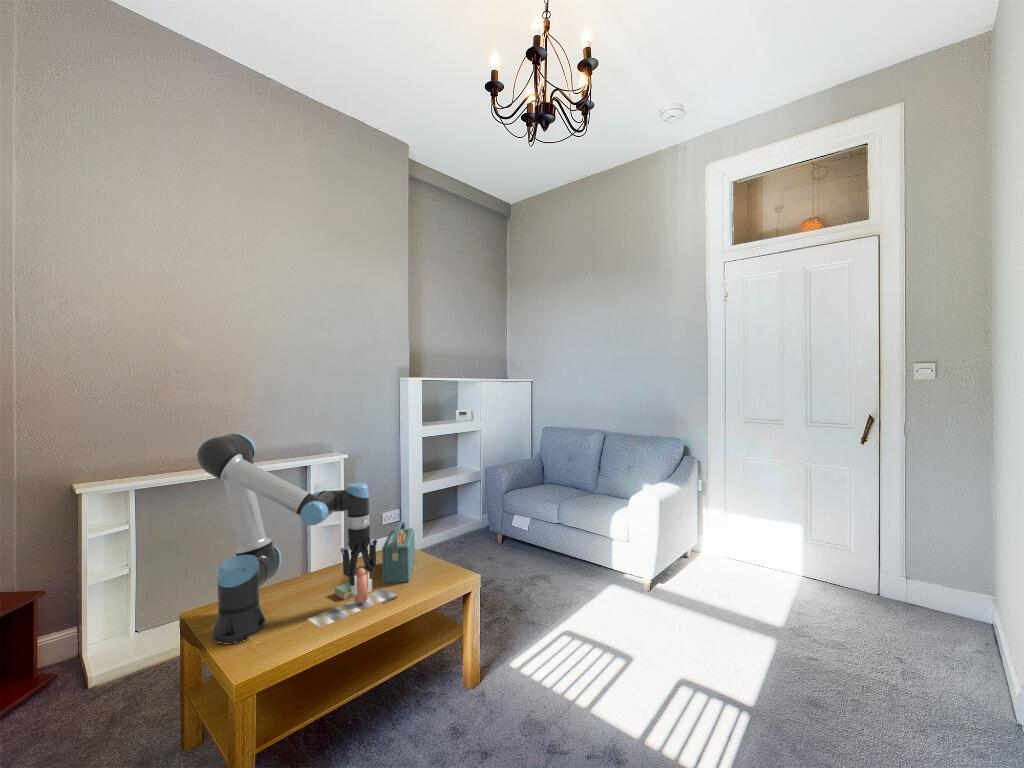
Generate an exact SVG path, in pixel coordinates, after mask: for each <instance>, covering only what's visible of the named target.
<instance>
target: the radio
mask: <svg viewBox="0 0 1024 768" xmlns="http://www.w3.org/2000/svg"><path fill="white" fill-rule="evenodd" d="M415 541H416V540H415V528H413V527H412V528H406V525H405V522H404V521H399V522H397V524H396V526H395V528H393V529H392V528H391V530H390V532H389V533H388V536H387V538H386V539H385V541H384V543H383V546H382V548H381V552H382V553H381V556H382V583H383V584H385V585H386V584H398V583H400V584H401V583H409V582H410V580H411V575H412V572H413V567H414V565H415V564H414V563H415V561H416V551H415V549H416V547H415V546H416V545H415Z"/></svg>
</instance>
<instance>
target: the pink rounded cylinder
mask: <svg viewBox="0 0 1024 768" xmlns="http://www.w3.org/2000/svg"><path fill="white" fill-rule="evenodd" d="M365 570H366V569H365V567H364V568H363V567H358V568H356V570H355V575H356V576H357V594H356V595H355V596H354V600H355V602H356V603H362V602H365V601H367V600H368V593H367V574H366V572H365Z"/></svg>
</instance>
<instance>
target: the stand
mask: <svg viewBox="0 0 1024 768" xmlns="http://www.w3.org/2000/svg"><path fill="white" fill-rule="evenodd" d="M334 596H336V597H338V598H340V599H342V600H344V601H346V600H348V599H349V600H350V599H351V598H355V594H353V593H351V585H350V584H349V581H348V582H346V583H342V584H339V585H337V586H335V587H334Z"/></svg>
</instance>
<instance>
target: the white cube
mask: <svg viewBox="0 0 1024 768" xmlns="http://www.w3.org/2000/svg"><path fill="white" fill-rule="evenodd" d="M371 592H373V579H372V578H371V579H370V589H369V590H367V594H369V593H371Z"/></svg>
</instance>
